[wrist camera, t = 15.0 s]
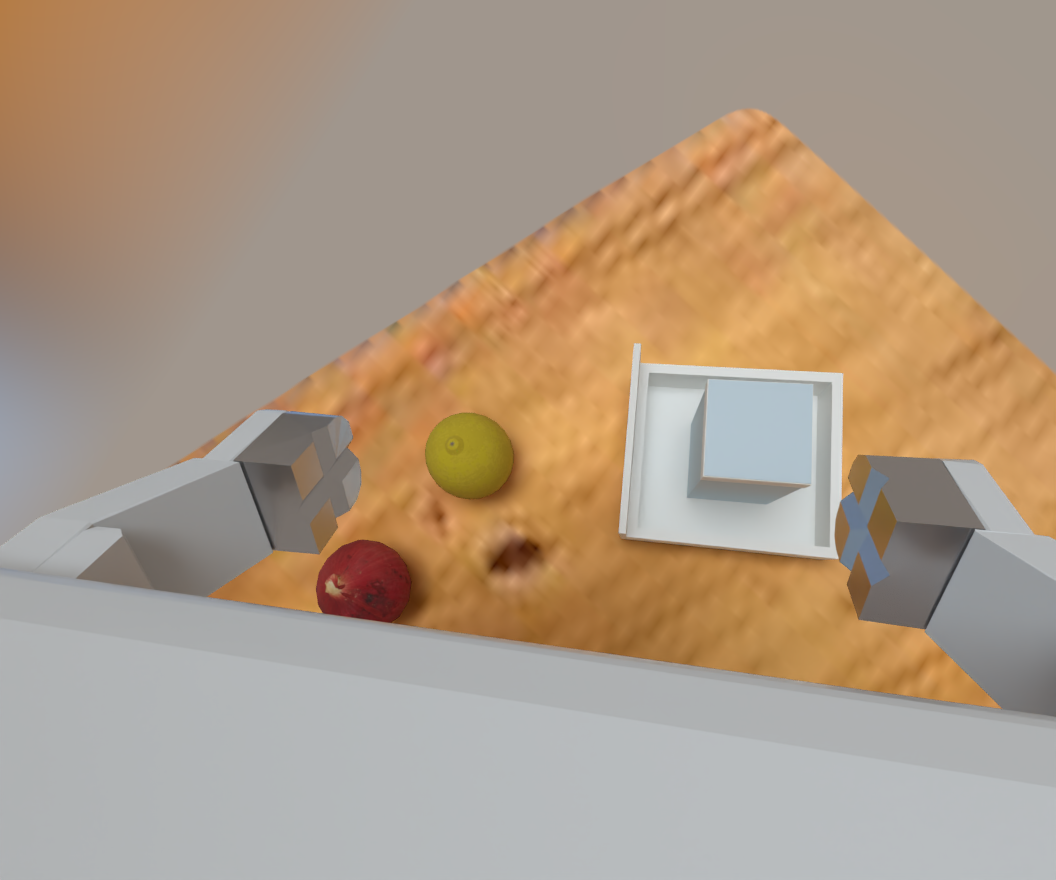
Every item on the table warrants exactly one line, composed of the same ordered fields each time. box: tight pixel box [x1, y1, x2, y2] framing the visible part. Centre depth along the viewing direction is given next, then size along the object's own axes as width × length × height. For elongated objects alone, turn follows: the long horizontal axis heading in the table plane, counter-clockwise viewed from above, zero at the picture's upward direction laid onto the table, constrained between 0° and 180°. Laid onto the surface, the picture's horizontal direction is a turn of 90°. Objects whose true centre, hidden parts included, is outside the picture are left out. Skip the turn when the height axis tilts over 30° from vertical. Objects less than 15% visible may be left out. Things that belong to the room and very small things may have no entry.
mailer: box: [619, 343, 843, 560], centre depth 37 cm, size 11×13×7 cm
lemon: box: [425, 413, 513, 499], centre depth 39 cm, size 6×6×8 cm
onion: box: [316, 540, 411, 623], centre depth 38 cm, size 6×6×8 cm
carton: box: [687, 379, 813, 504], centre depth 35 cm, size 5×5×10 cm
